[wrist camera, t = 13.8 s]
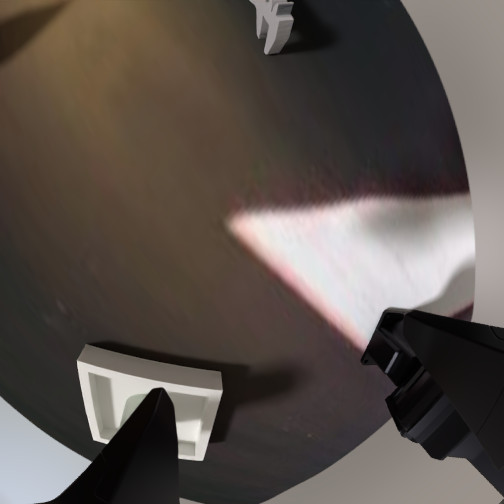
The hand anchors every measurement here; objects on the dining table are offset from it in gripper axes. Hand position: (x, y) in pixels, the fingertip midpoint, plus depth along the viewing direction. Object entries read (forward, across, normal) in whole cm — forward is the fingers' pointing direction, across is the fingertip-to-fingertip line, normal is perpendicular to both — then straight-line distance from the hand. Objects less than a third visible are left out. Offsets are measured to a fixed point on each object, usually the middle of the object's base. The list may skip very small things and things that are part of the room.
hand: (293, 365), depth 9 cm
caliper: (+14, -5, -25) cm, 29 cm away
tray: (+13, +14, +13) cm, 23 cm away
